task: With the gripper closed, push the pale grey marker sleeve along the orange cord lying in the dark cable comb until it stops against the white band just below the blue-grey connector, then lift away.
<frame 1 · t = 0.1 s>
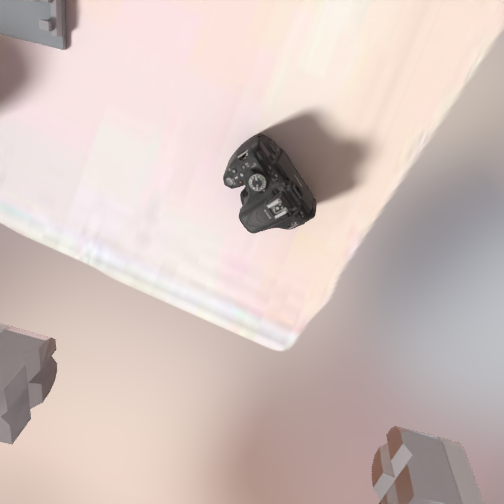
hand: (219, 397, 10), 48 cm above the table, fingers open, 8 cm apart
camera: (274, 178, 57), on the table
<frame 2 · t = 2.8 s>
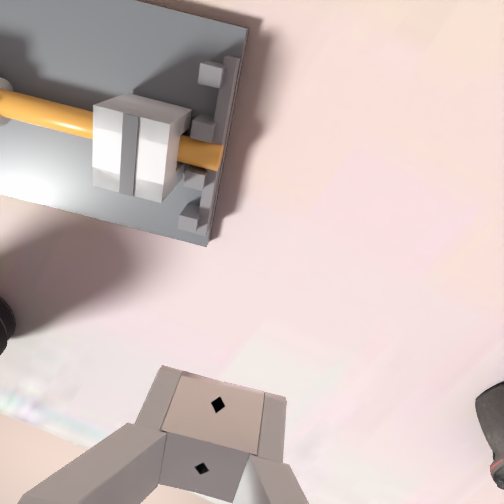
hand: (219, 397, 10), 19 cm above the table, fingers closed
sleeve: (143, 146, 23), point 3 cm above the table, slide at 0.0 cm
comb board: (99, 117, 26), on the table
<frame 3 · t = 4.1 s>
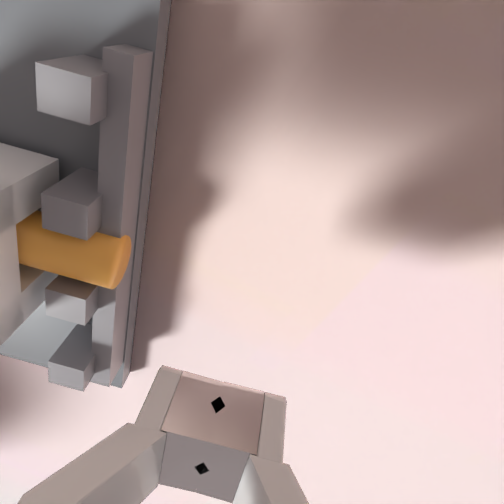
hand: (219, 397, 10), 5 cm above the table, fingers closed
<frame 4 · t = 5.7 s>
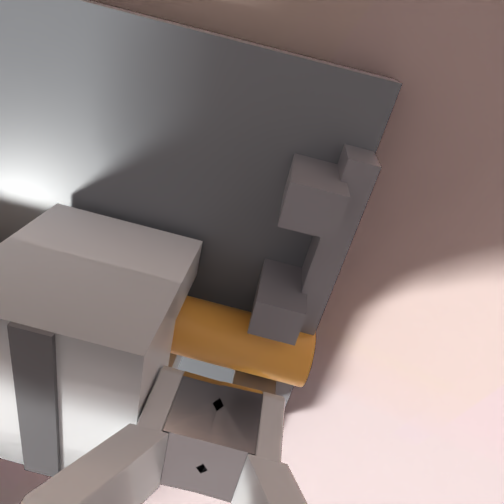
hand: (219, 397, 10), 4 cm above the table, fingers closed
sleeve: (89, 338, 10), point 3 cm above the table, slide at 1.2 cm, touching gripper
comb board: (48, 244, 13), on the table
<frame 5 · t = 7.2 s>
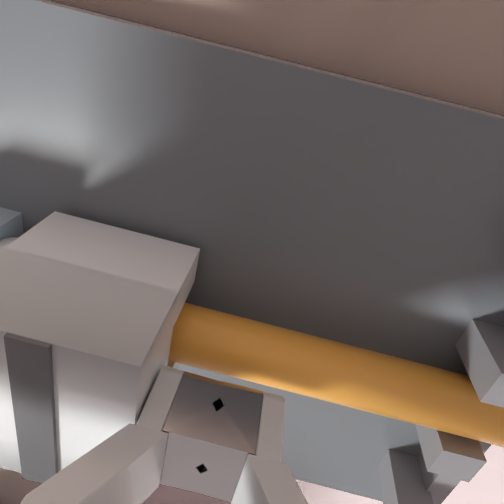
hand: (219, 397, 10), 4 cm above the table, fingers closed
sleeve: (86, 346, 10), point 3 cm above the table, slide at 7.1 cm, touching gripper
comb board: (227, 297, 13), on the table
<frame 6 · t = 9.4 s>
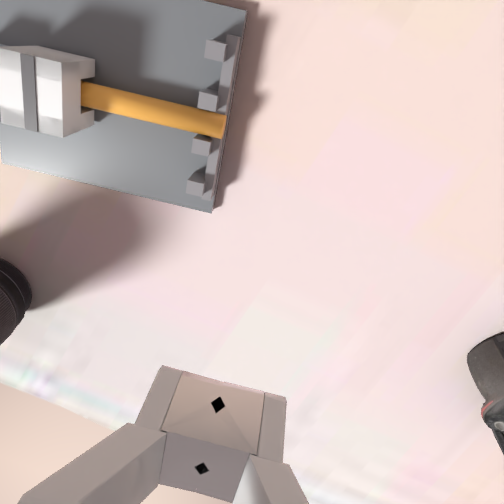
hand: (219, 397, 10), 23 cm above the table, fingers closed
sleeve: (49, 90, 26), point 3 cm above the table, slide at 7.1 cm
camera lens: (1, 284, 39), on the table
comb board: (114, 94, 29), on the table
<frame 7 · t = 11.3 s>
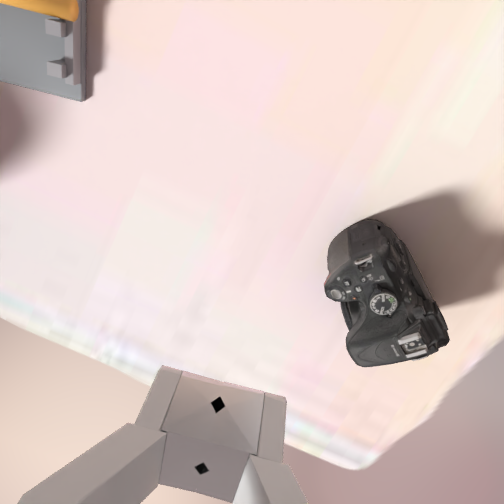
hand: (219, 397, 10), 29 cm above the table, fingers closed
camera: (380, 274, 41), on the table
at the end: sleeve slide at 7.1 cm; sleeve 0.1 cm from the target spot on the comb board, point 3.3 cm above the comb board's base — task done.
